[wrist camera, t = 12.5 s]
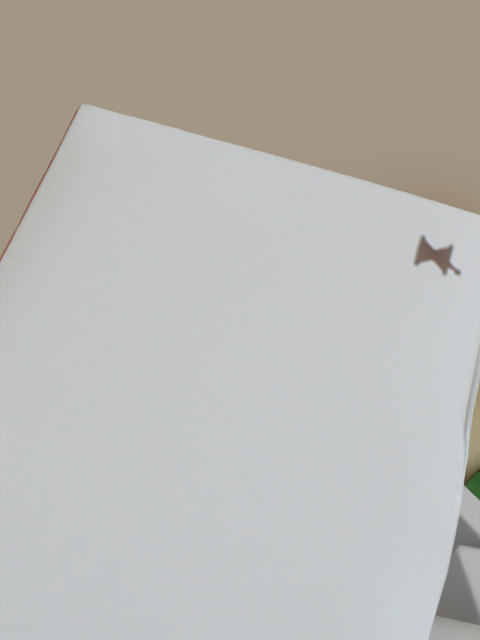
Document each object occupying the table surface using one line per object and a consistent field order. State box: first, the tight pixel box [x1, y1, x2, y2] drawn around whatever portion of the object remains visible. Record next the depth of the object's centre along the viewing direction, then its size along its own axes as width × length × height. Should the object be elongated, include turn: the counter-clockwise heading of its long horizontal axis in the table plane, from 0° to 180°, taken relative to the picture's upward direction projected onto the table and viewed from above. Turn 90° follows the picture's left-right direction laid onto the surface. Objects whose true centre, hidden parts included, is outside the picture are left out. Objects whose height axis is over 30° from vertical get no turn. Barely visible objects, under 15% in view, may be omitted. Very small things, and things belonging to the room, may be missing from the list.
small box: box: [0, 104, 480, 640], centre depth 10 cm, size 8×6×13 cm
